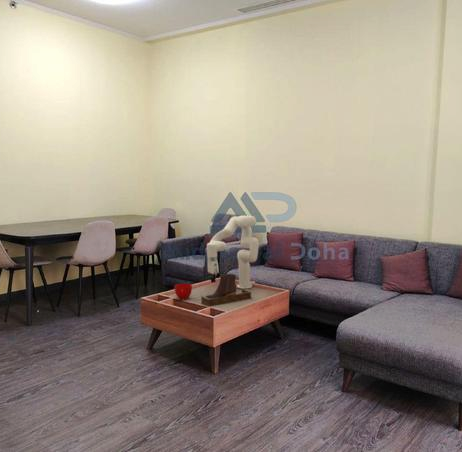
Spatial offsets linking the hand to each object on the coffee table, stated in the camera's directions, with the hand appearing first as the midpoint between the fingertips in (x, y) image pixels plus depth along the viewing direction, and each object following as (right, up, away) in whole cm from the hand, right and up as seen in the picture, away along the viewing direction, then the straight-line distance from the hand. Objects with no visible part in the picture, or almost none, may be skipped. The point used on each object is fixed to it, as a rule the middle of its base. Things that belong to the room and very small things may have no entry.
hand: (213, 282), depth 350 cm
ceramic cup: (-22, -12, -7) cm, 26 cm away
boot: (+7, -13, -12) cm, 19 cm away
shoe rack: (+11, -12, -11) cm, 20 cm away
